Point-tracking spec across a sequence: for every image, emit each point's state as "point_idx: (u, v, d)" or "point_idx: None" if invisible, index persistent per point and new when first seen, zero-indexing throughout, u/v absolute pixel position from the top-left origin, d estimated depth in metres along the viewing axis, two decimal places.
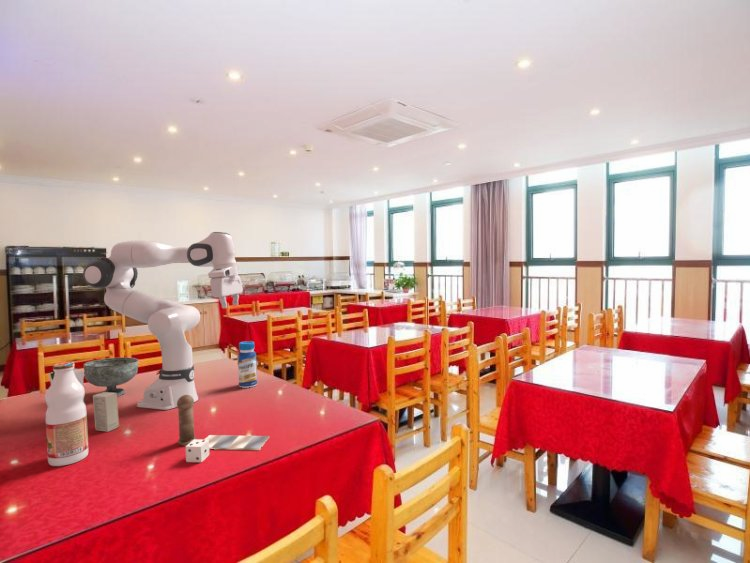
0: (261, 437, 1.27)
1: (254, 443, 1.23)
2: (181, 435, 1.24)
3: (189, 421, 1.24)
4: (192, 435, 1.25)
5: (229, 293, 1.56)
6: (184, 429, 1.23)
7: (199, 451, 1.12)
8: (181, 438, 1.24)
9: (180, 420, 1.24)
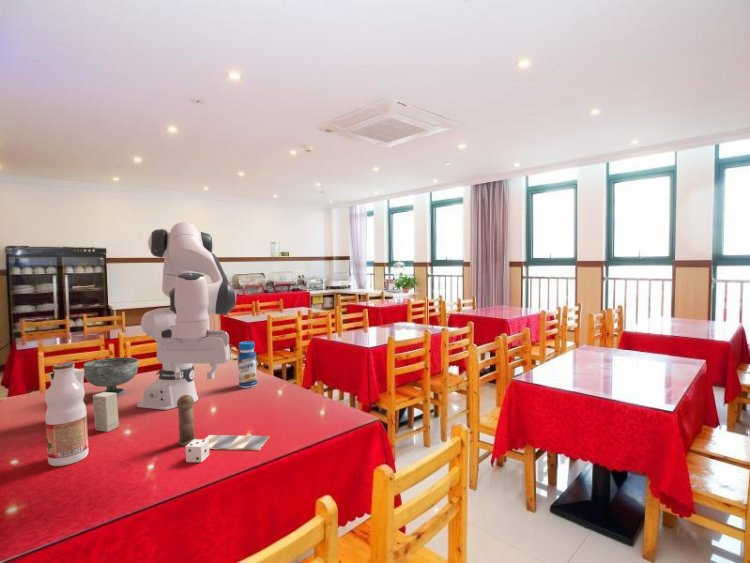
0: (261, 437, 1.27)
1: (254, 443, 1.23)
2: (181, 435, 1.24)
3: (189, 421, 1.24)
4: (192, 435, 1.25)
5: (179, 361, 1.12)
6: (184, 429, 1.23)
7: (199, 451, 1.12)
8: (181, 438, 1.24)
9: (180, 420, 1.24)
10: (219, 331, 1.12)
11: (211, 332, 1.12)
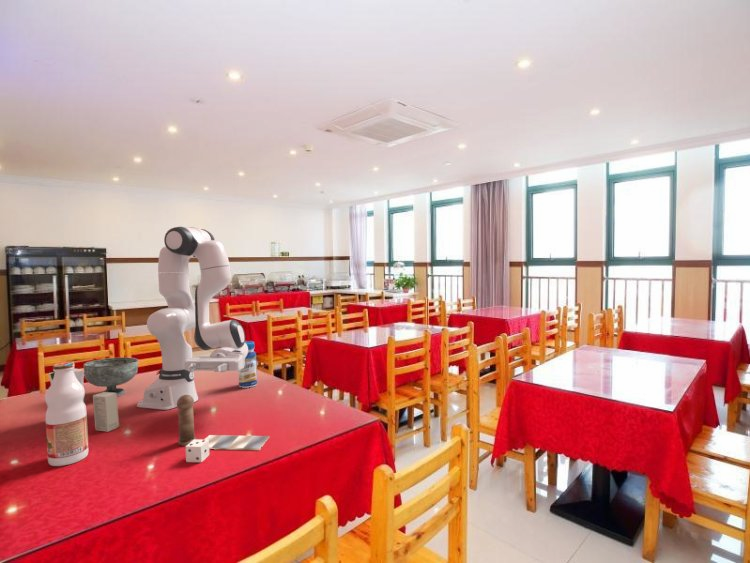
0: (261, 437, 1.27)
1: (254, 443, 1.23)
2: (181, 435, 1.24)
3: (189, 421, 1.24)
4: (192, 435, 1.25)
5: None
6: (184, 429, 1.23)
7: (199, 451, 1.12)
8: (181, 438, 1.24)
9: (180, 420, 1.23)
10: None
11: None
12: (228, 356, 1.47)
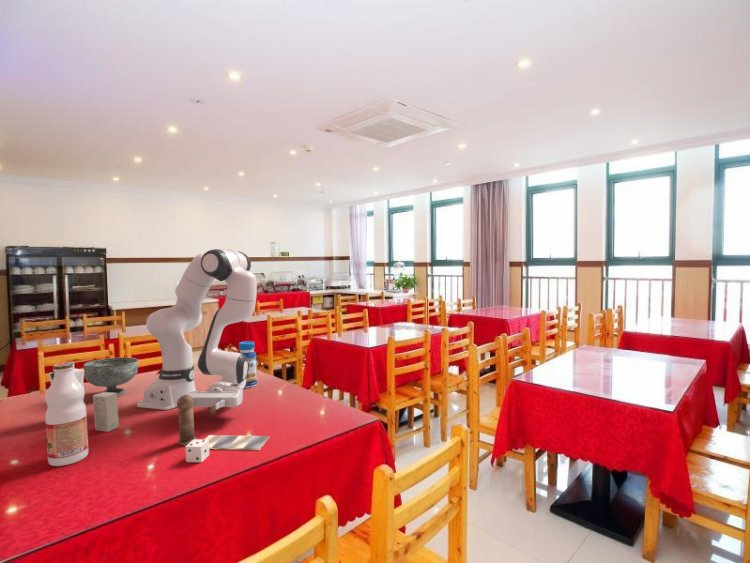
0: (261, 437, 1.27)
1: (254, 443, 1.23)
2: (181, 435, 1.24)
3: (189, 421, 1.24)
4: (192, 435, 1.25)
5: None
6: (184, 429, 1.23)
7: (199, 451, 1.12)
8: (181, 438, 1.24)
9: (180, 420, 1.23)
10: None
11: None
12: (226, 391, 1.44)
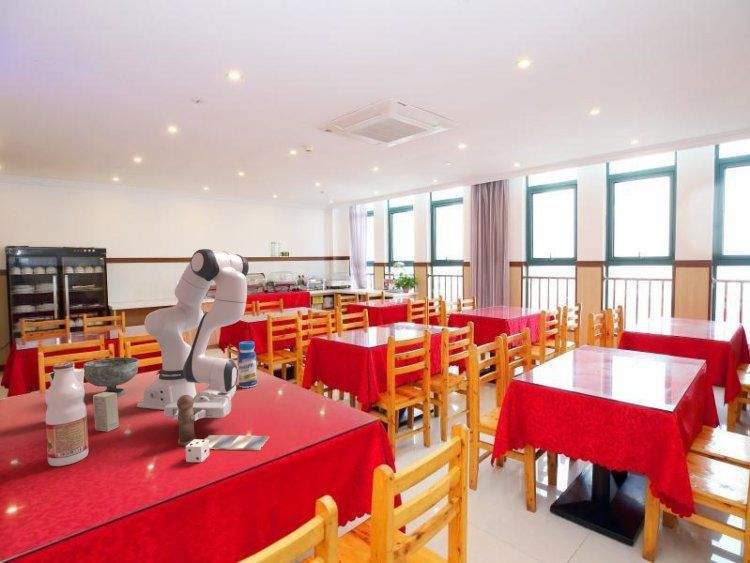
0: (261, 437, 1.27)
1: (254, 443, 1.23)
2: (181, 435, 1.24)
3: (189, 421, 1.24)
4: (192, 435, 1.25)
5: None
6: (184, 429, 1.23)
7: (199, 451, 1.12)
8: (181, 438, 1.24)
9: (180, 420, 1.24)
10: None
11: None
12: (213, 400, 1.34)
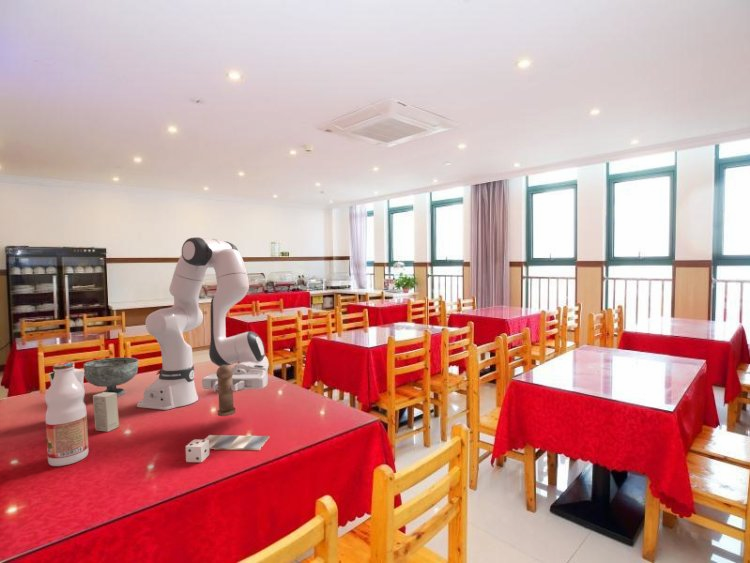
0: (261, 437, 1.27)
1: (254, 443, 1.23)
2: (221, 405, 1.22)
3: (229, 391, 1.22)
4: (232, 405, 1.23)
5: None
6: (224, 399, 1.22)
7: (199, 451, 1.12)
8: (221, 408, 1.22)
9: (220, 390, 1.22)
10: None
11: None
12: (250, 372, 1.33)
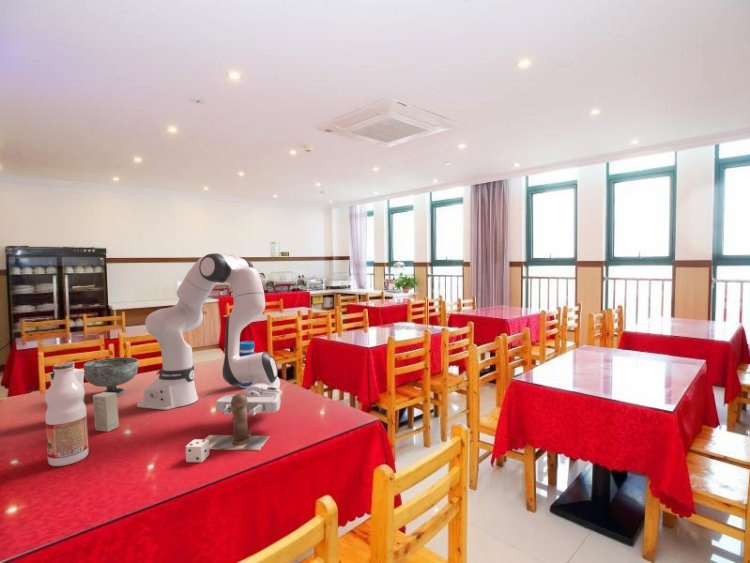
0: (261, 437, 1.27)
1: (254, 443, 1.23)
2: (236, 434, 1.22)
3: (243, 420, 1.23)
4: (246, 434, 1.24)
5: None
6: (238, 428, 1.22)
7: (199, 451, 1.12)
8: (236, 437, 1.22)
9: (235, 419, 1.22)
10: None
11: None
12: (263, 395, 1.33)
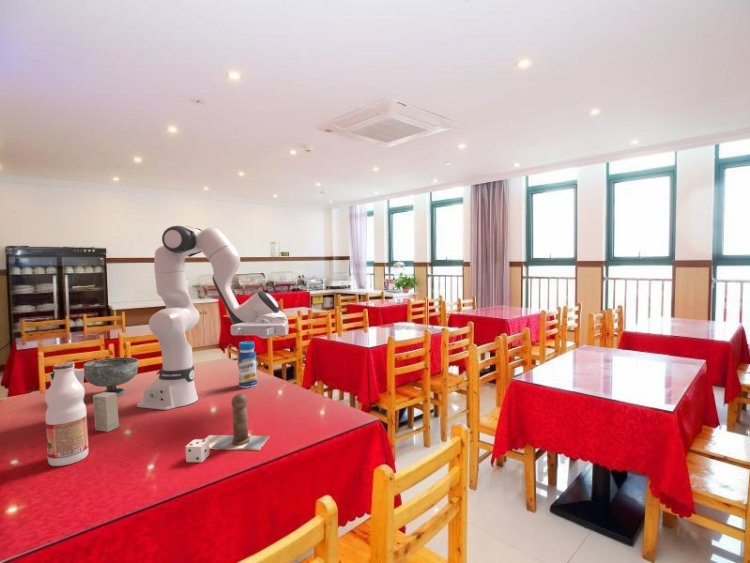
0: (261, 437, 1.27)
1: (254, 443, 1.23)
2: (236, 434, 1.22)
3: (243, 420, 1.23)
4: (246, 434, 1.24)
5: None
6: (238, 429, 1.22)
7: (199, 451, 1.12)
8: (236, 437, 1.22)
9: (235, 419, 1.22)
10: None
11: None
12: (273, 322, 1.48)
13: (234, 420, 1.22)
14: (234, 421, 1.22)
